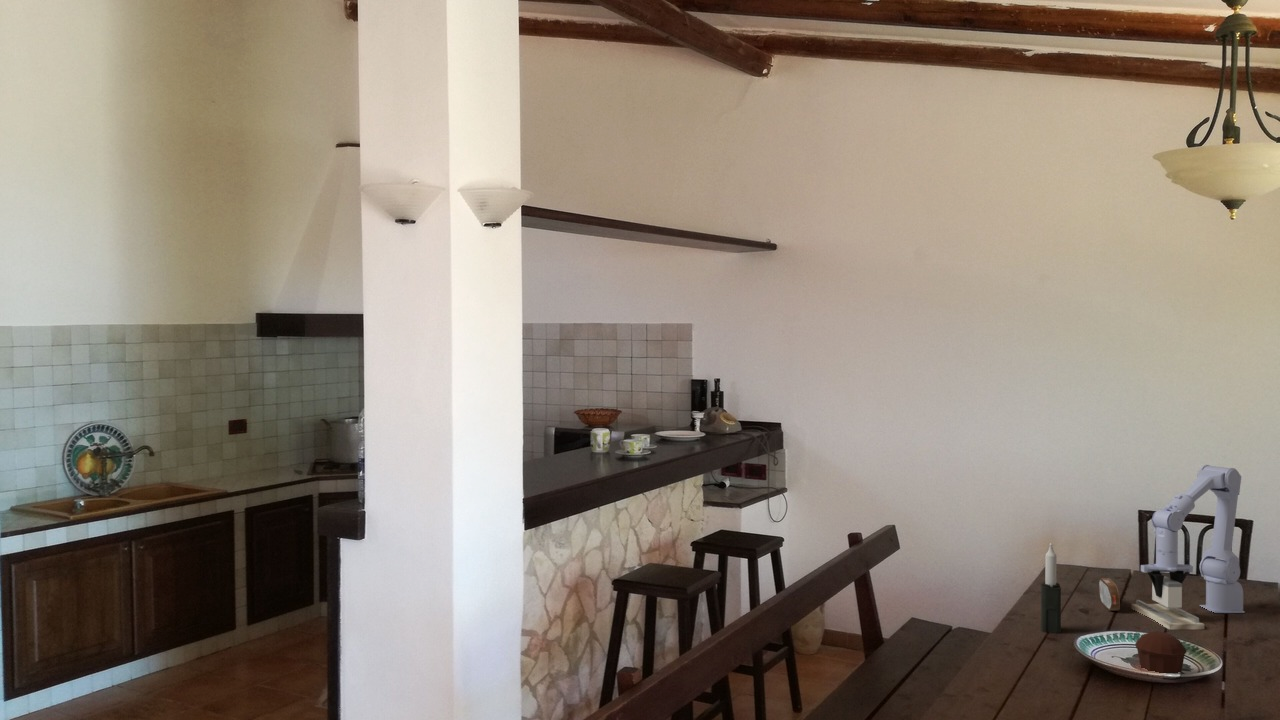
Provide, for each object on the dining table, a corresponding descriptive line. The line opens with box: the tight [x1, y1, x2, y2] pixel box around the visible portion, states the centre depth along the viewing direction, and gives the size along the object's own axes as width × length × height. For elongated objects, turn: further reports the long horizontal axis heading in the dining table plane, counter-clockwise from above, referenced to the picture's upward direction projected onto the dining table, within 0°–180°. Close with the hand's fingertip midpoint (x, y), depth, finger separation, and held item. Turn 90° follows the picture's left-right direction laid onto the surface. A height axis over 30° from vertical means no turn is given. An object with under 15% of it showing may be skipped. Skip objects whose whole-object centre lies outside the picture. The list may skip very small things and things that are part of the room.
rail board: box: [1131, 599, 1205, 631], centre depth 295 cm, size 10×22×3 cm, turn 0°
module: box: [1151, 575, 1183, 608], centre depth 295 cm, size 4×9×7 cm, turn 0°
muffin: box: [1135, 630, 1187, 673], centre depth 247 cm, size 12×11×10 cm
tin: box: [1098, 577, 1121, 612], centre depth 308 cm, size 15×3×8 cm, turn 168°
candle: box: [1040, 542, 1062, 634], centre depth 284 cm, size 5×5×25 cm
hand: (1166, 596), depth 295 cm, fingers closed on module, 4 cm apart
